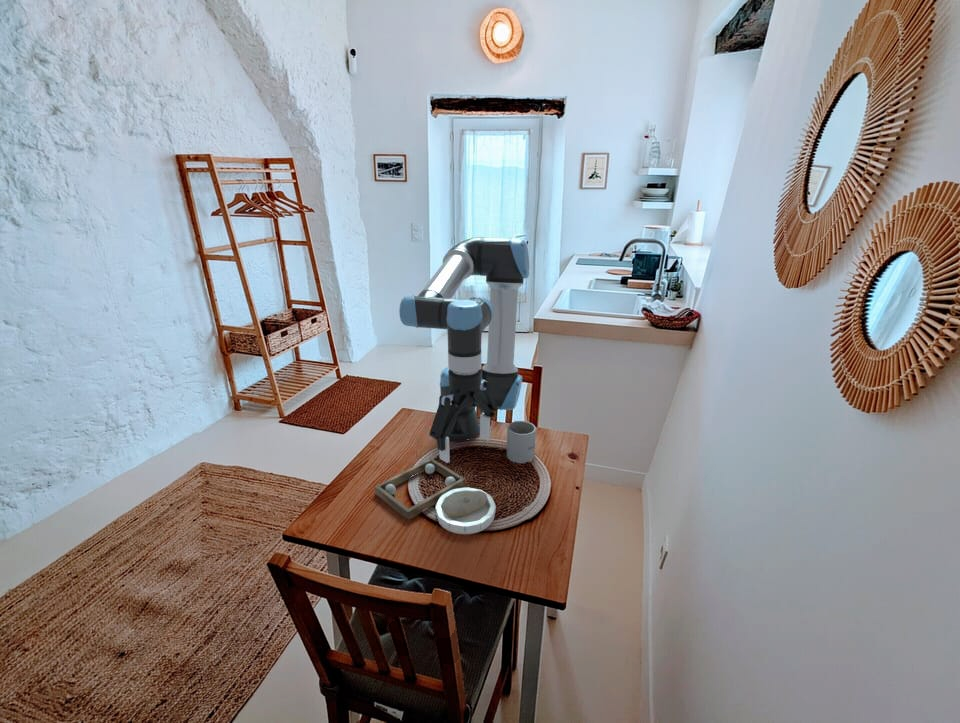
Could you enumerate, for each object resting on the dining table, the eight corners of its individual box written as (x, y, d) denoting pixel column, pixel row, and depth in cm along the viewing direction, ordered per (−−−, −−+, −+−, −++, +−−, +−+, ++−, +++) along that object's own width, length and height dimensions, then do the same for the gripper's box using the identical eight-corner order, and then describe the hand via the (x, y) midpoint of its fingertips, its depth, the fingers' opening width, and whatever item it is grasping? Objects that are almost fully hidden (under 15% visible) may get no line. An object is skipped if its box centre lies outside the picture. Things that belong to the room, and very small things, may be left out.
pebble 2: (450, 481, 135) (450, 473, 134) (457, 486, 133) (457, 477, 132) (442, 486, 133) (442, 477, 132) (450, 491, 131) (449, 482, 130)
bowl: (466, 488, 132) (466, 480, 131) (506, 514, 122) (506, 505, 121) (424, 513, 122) (424, 505, 121) (464, 543, 112) (464, 535, 111)
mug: (524, 466, 142) (525, 437, 138) (501, 456, 147) (502, 428, 143) (545, 449, 151) (547, 421, 147) (522, 440, 156) (524, 413, 152)
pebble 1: (391, 489, 131) (391, 480, 130) (398, 494, 129) (397, 485, 128) (382, 494, 129) (382, 484, 128) (389, 499, 127) (388, 489, 126)
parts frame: (431, 464, 142) (431, 457, 142) (465, 486, 133) (465, 478, 132) (375, 494, 129) (374, 486, 128) (408, 520, 119) (407, 512, 119)
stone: (494, 500, 122) (458, 507, 114) (483, 516, 124) (448, 525, 116) (482, 483, 125) (447, 489, 117) (472, 499, 128) (437, 506, 120)
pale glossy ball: (430, 468, 141) (430, 460, 139) (437, 473, 139) (436, 464, 137) (422, 473, 139) (422, 464, 137) (429, 477, 137) (428, 468, 135)
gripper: (490, 351, 118) (489, 425, 126) (410, 380, 101) (415, 463, 109) (513, 359, 113) (510, 435, 121) (433, 390, 96) (436, 477, 104)
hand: (465, 449), depth 115 cm, fingers open, 13 cm apart
